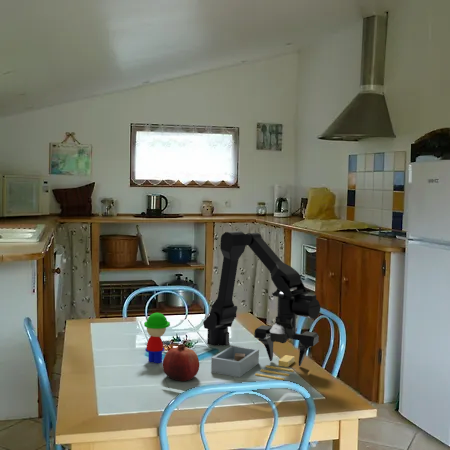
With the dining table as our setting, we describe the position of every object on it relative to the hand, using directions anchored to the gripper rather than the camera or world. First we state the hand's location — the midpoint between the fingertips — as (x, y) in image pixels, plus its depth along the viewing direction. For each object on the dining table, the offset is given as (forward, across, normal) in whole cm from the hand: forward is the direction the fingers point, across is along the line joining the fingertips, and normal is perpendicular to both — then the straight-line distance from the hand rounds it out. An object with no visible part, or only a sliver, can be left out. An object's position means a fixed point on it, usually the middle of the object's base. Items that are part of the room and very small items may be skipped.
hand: (285, 363), depth 174 cm
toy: (+1, -37, -14) cm, 40 cm away
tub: (+1, -12, -10) cm, 16 cm away
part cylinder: (0, -12, -13) cm, 18 cm away
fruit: (+1, -22, -25) cm, 33 cm away
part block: (0, -12, -7) cm, 14 cm away
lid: (+1, 0, -6) cm, 6 cm away
